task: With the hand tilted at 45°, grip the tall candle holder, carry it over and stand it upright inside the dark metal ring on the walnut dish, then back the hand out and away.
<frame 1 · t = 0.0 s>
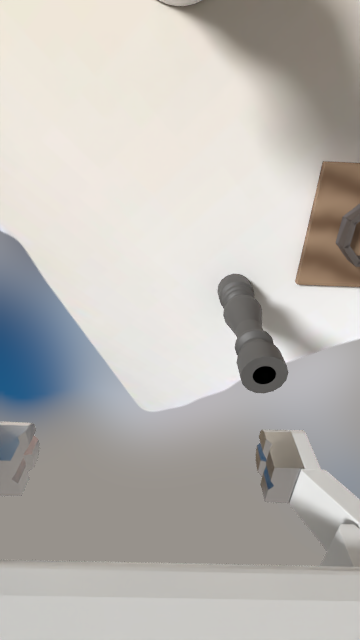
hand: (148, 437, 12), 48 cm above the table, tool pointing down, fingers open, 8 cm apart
candle holder: (234, 289, 62), on the table
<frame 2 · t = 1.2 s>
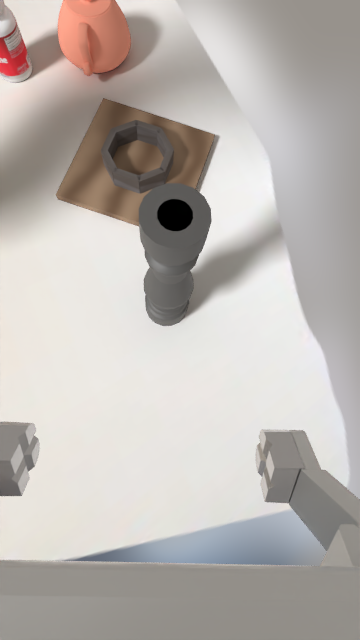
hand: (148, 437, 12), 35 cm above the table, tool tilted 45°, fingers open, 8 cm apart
candle holder: (166, 306, 50), on the table
candle dish: (139, 168, 55), on the table
sugar bowl: (97, 59, 60), on the table
pill bottle: (15, 71, 58), on the table
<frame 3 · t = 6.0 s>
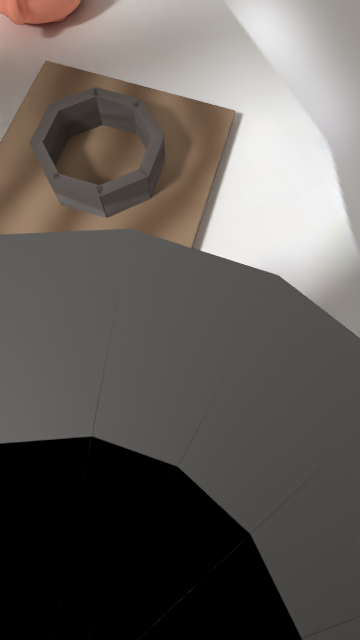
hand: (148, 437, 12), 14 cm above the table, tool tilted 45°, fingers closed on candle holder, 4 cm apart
candle holder: (159, 431, 26), on the table, touching gripper
candle dish: (106, 173, 32), on the table
sugar bowl: (40, 6, 38), on the table
when the fingers open (17 cm above the table, at t = 13.8 s): candle holder stays where it is, resting on candle dish.
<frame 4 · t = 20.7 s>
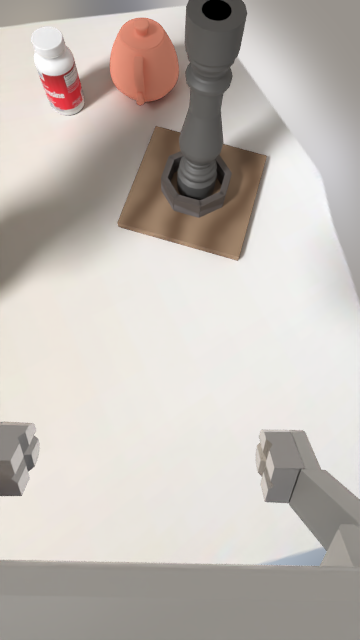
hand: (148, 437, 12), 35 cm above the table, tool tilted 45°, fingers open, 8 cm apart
candle holder: (195, 186, 55), point 1 cm above the table, touching candle dish
candle dish: (194, 192, 56), on the table
sugar bowl: (145, 88, 62), on the table
pill bottle: (68, 104, 60), on the table
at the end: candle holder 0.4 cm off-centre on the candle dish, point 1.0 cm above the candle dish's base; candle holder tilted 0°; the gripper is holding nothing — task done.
